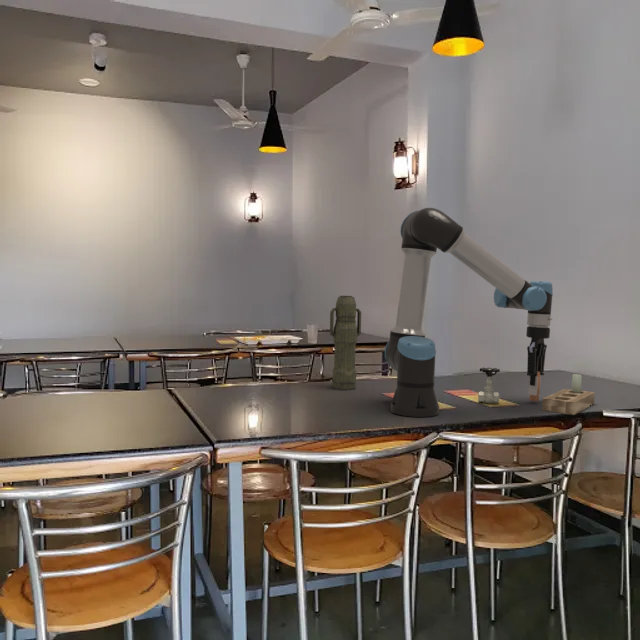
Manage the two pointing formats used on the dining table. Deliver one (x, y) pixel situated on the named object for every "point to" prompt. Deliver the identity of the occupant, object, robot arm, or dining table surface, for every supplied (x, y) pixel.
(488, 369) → the valve
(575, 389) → the sage peg
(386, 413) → the dining table surface
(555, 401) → the beech block
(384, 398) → the dining table surface
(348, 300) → the thermos
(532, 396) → the terracotta peg
